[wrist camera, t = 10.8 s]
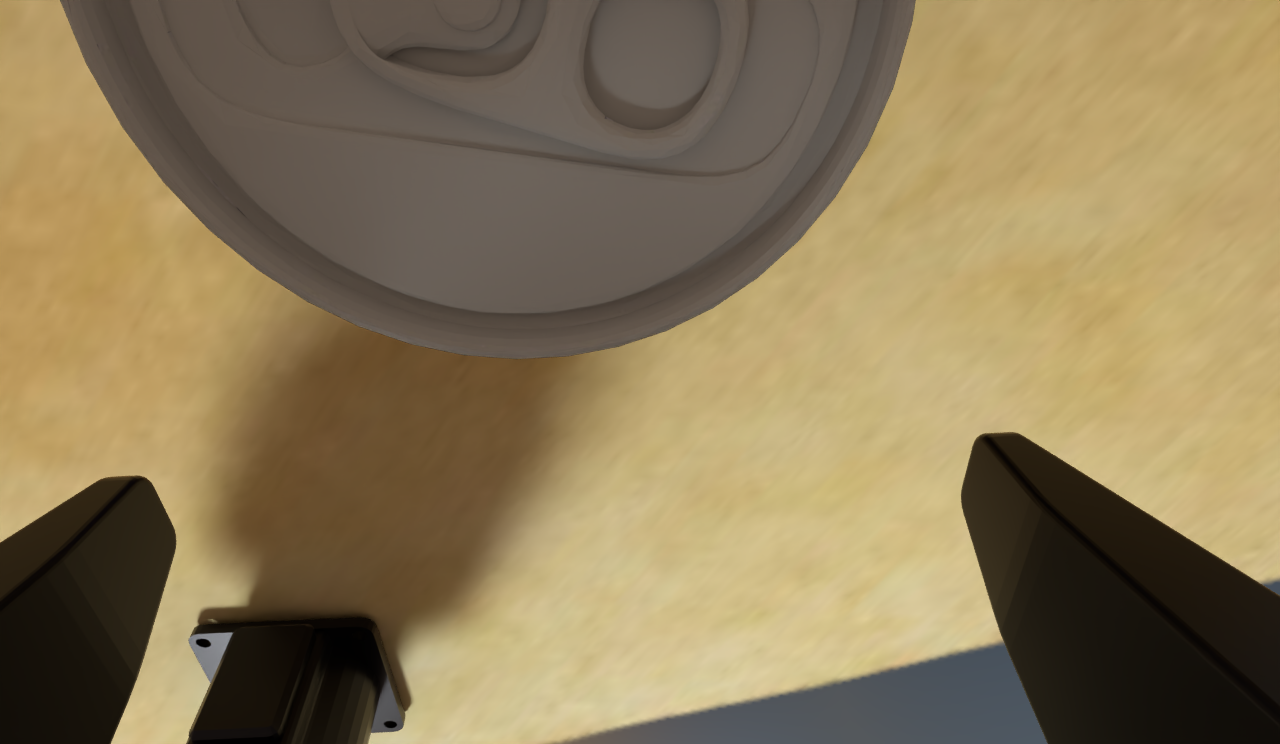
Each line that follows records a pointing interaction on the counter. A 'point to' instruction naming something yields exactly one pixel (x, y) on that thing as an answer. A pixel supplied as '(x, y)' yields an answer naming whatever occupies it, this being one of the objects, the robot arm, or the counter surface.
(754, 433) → the counter surface
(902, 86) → the counter surface
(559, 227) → the beverage can
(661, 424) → the counter surface
